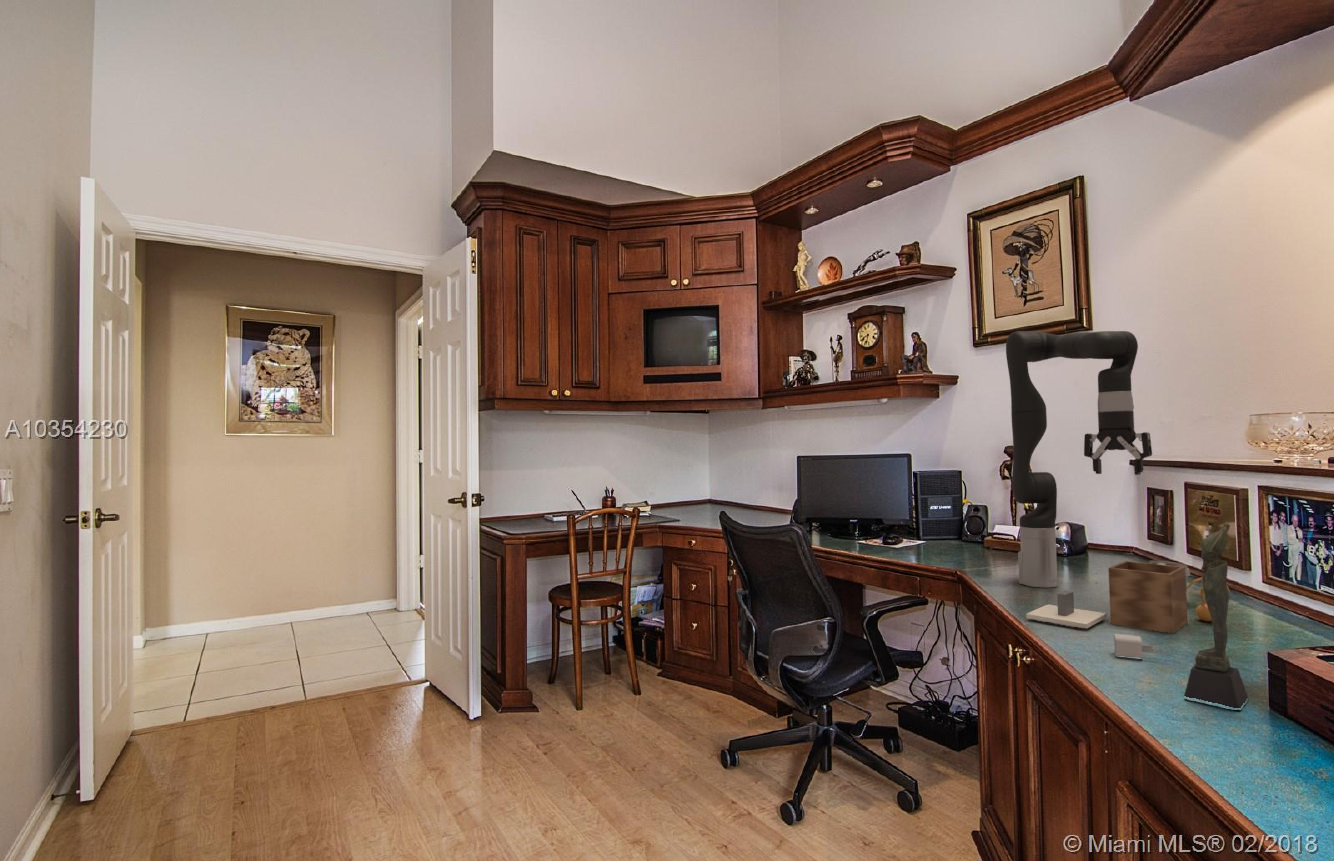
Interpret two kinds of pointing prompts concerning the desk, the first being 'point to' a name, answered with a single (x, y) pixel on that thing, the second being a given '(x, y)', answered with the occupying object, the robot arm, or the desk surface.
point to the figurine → (1202, 604)
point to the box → (1148, 596)
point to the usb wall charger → (1131, 646)
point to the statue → (1216, 633)
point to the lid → (1066, 613)
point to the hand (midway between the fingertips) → (1117, 474)
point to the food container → (1173, 565)
